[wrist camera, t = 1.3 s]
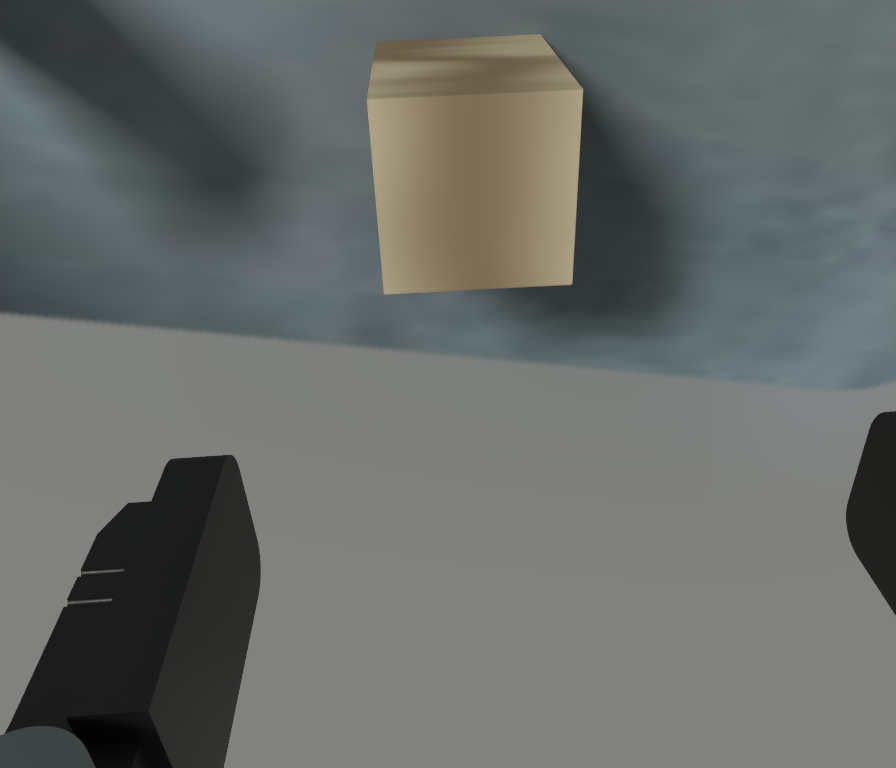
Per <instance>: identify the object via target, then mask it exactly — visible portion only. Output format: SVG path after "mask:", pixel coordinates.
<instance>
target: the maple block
mask: <svg viewBox="0 0 896 768" xmlns="http://www.w3.org/2000/svg"><path fill="white" fill-rule="evenodd" d="M582 102H583V89H582V87H581V86H580V85H579V83H578V82H577V81H576V79H575V78H574V77H573V76H572V74H571V73H570V72H569V70H568V69H567V68H566V67H565V65H564V64H563V63H562V61H561V60H560V59H559V58H558V56H557V55H556V54H555V52H554V51H553V50H552V49H551V47H550V46H549V45H548V43H547V42H546V41H545V40H544V38H543V37H542V36H541V34H539V35H518V36H496V37H474V38H452V39H431V40H409V41H387V42H376V46H375V52H374V59H373V65H372V71H371V77H370V84H369V90H368V96H367V106H368V118H369V129H370V140H371V152H372V163H373V174H374V186H375V197H376V208H377V220H378V231H379V242H380V254H381V265H382V276H383V288H384V294H401V293H421V292H440V291H459V290H479V289H498V288H517V287H537V286H556V285H572V280H573V262H574V245H575V227H576V209H577V191H578V173H579V155H580V137H581V119H582Z"/></svg>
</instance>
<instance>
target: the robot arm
mask: <svg viewBox="0 0 896 768" xmlns="http://www.w3.org/2000/svg"><path fill="white" fill-rule="evenodd" d="M846 523H847V530H848V534H849V539H850V542H851V544H852V547H853V549H854V551H855V553H856V555H857V556H858V558H859V560H860V561H861V563H862V564H863V566H864V567H865V569H866V570H867V572H868V573H869V575H870V577H871V578H872V580H873V581H874V582H875V584H876V585H877V587H878V589H879V590H880V592H881V594H882V595H883V597H884V598H885V600H886V601H887V603H888V604H889V606H890V607H891V609H892V610H893V612H894V614H895V615H896V411H895V412H884V413H880V414H879V415H878V416H877V417H876V418H875V419H874V420H873V422H872V424H871V427H870V429H869V433H868V436H867V439H866V443H865V446H864V450H863V453H862V456H861V460H860V463H859V466H858V470H857V474H856V476H855V480H854V483H853V487H852V490H851V493H850V497H849V500H848V504H847V511H846ZM81 572H82V573H81V577H77V579H76V582H75V584H74V586H73V588H72V590H71V592H70V595H69V597H68V599H67V600H68V605H67V607H64V608H63V610H62V612H61V614H60V617H59V619H58V621H57V623H56V625H55V628H54V629H53V632H52V634H51V636H50V638H49V641H48V643H47V645H46V647H45V649H44V651H43V653H42V656H41V658H40V660H39V662H38V664H37V666H36V669H35V671H34V673H33V676H32V677H31V680H30V682H29V684H28V686H27V688H26V690H25V693H24V695H23V697H22V699H21V702H20V704H19V706H18V708H17V710H16V712H15V715H14V717H13V719H12V721H11V723H10V725H9V727H8V728H7V730H6V732H5V734H3V735H1V736H0V768H223V767H224V763H225V758H226V753H227V748H228V743H229V738H230V733H231V728H232V723H233V719H234V713H235V708H236V704H237V699H238V694H239V689H240V684H241V679H242V674H243V669H244V664H245V659H246V654H247V649H248V644H249V639H250V634H251V629H252V624H253V619H254V615H255V609H256V604H257V600H258V595H259V588H260V554H259V546H258V541H257V537H256V533H255V529H254V525H253V521H252V517H251V513H250V510H249V505H248V501H247V498H246V494H245V490H244V486H243V482H242V478H241V474H240V470H239V467H238V464H237V461H236V459H235V458H234V457H233V456H232V455H222V456H206V457H192V458H178V459H171V460H170V461H168V463H167V464H166V466H165V468H164V471H163V474H162V476H161V479H160V481H159V484H158V486H157V488H156V491H155V494H154V496H153V499H152V501H151V502H139V503H138V502H137V503H128V504H127V505H126V506H125V507H124V508H123V509H122V510H121V511H120V512H119V513H118V514H117V515H116V516H115V517H114V518H113V519H112V520H111V521H110V522H109V523H108V524H107V525H106V526H105V527H104V528H103V529H102V530H101V531H100V532H99V533H98V534H97V536H96V538H95V540H94V542H93V545H92V547H91V549H90V551H89V554H88V556H87V558H86V560H85V562H84V564H83V566H82V569H81Z"/></svg>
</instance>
